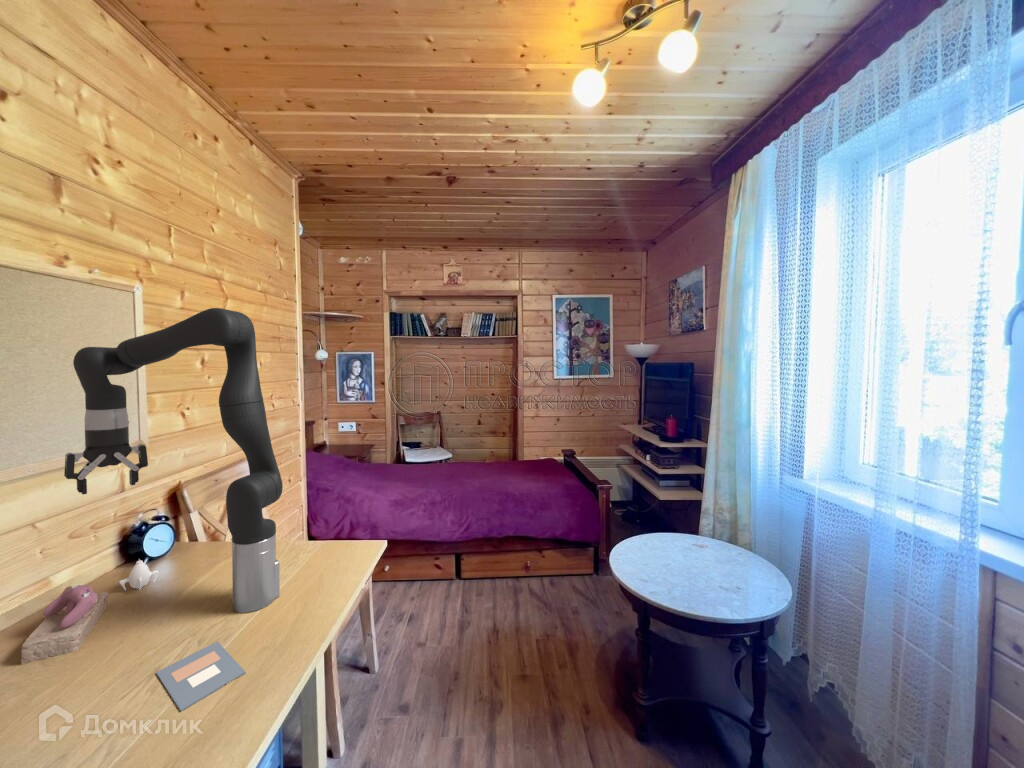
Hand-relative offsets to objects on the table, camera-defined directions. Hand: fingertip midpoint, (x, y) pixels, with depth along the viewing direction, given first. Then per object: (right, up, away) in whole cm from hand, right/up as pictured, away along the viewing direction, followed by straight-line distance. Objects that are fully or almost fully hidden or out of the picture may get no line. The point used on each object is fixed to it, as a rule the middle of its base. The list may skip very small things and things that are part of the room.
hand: (109, 488), depth 95 cm
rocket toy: (+3, -28, +5) cm, 29 cm away
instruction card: (+41, -31, -21) cm, 56 cm away
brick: (+4, -30, -12) cm, 32 cm away
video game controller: (+5, -25, -12) cm, 28 cm away
